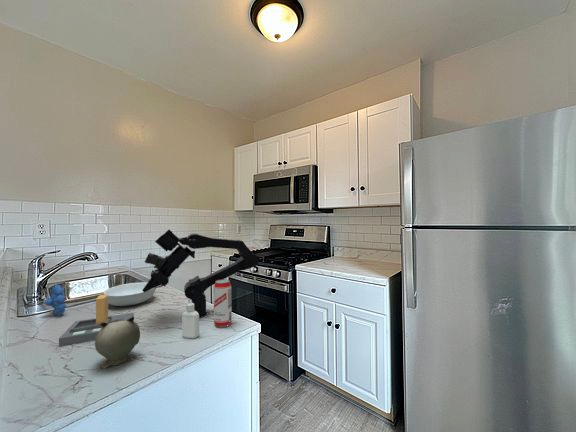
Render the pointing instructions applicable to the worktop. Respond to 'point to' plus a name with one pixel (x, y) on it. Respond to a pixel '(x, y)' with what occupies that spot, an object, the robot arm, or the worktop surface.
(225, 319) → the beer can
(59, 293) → the grapes
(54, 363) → the worktop surface
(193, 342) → the worktop surface
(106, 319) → the switch tab
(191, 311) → the eye dropper bottle
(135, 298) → the serving bowl
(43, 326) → the worktop surface
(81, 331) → the switch housing
